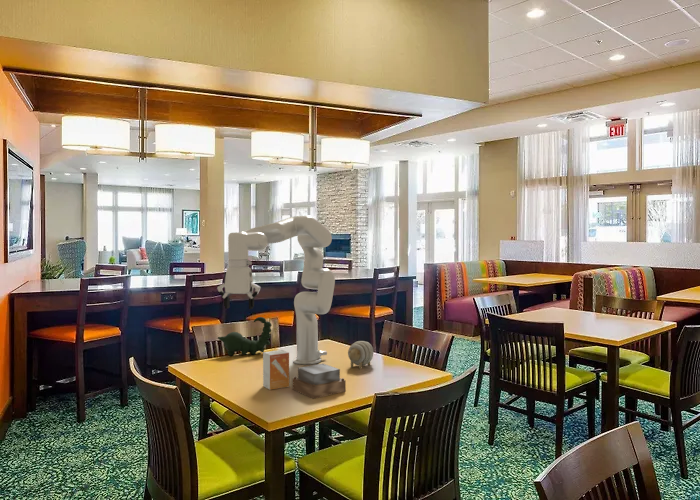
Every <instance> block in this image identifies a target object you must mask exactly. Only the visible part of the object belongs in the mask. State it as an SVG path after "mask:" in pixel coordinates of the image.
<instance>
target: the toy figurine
mask: <svg viewBox="0 0 700 500" xmlns="http://www.w3.org/2000/svg"><path fill="white" fill-rule="evenodd" d="M256 322H260V323H262V324H263V327H262V333H261V334H260V337H259V339H257V340H254V339H253V340H250V339H249V338H246V337H244V336H243V334H241V333H239V332H238V331H231V332H229V333H228V334H226V335H225V336H218V337H217V339H218V340H219V341H221V342H222V343H223V345H224V348H225V349H226V350H227V355H228V356H234V354H235V353H236V352H241V354H242V355H243V356H246V355H247V354H248V353H249V354H251V355H252V356H255V355H256V353H257V352H261V353H263V352H264V351H265V346H270V345H271V342H270V340H269V339H271V338H272V336H271V335H270V333H271V332H272V329H271V327H272V325H273V324H272V323H271V321H267V320H266V318H265V317H262V316H259V317H256V318H255V319H253V323H256Z"/></svg>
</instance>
